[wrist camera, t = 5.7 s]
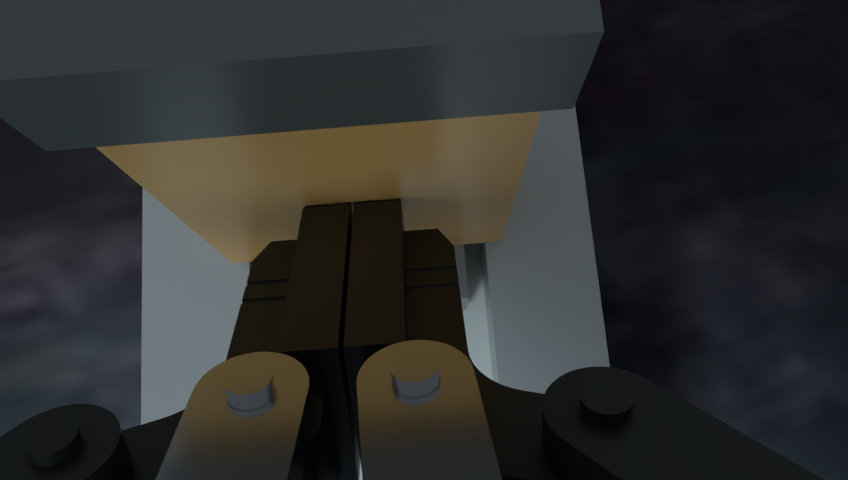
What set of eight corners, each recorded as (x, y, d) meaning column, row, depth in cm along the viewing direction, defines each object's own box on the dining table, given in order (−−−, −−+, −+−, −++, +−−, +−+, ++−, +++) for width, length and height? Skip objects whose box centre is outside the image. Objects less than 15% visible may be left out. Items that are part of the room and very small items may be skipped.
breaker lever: (511, 305, 16) (616, 110, 6) (240, 327, 16) (-52, 163, 7) (491, 118, 17) (557, -291, 7) (235, 139, 17) (-24, -245, 7)
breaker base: (643, 864, 16) (724, 1032, 12) (202, 900, 16) (108, 1082, 12) (534, -11, 21) (560, -138, 17) (194, 16, 21) (124, -103, 17)
